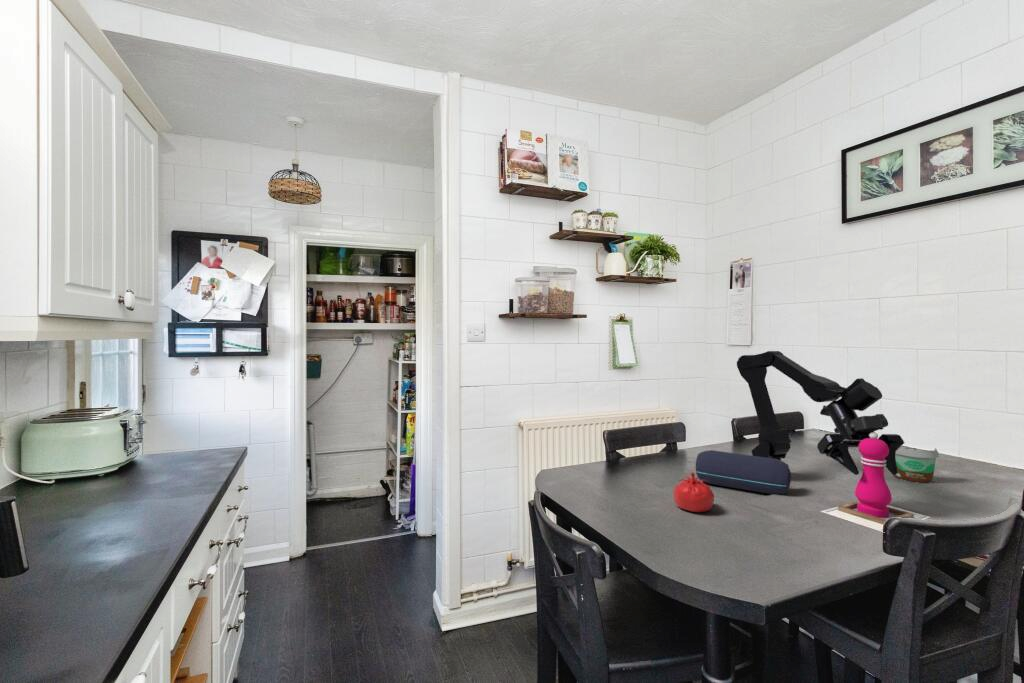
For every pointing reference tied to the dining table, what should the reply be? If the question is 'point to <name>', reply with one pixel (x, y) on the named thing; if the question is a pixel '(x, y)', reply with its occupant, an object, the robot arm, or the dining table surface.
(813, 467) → the dining table surface
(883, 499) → the pepper mill
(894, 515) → the picture frame
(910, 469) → the food container
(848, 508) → the walnut socket
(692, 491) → the pomegranate
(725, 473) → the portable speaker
